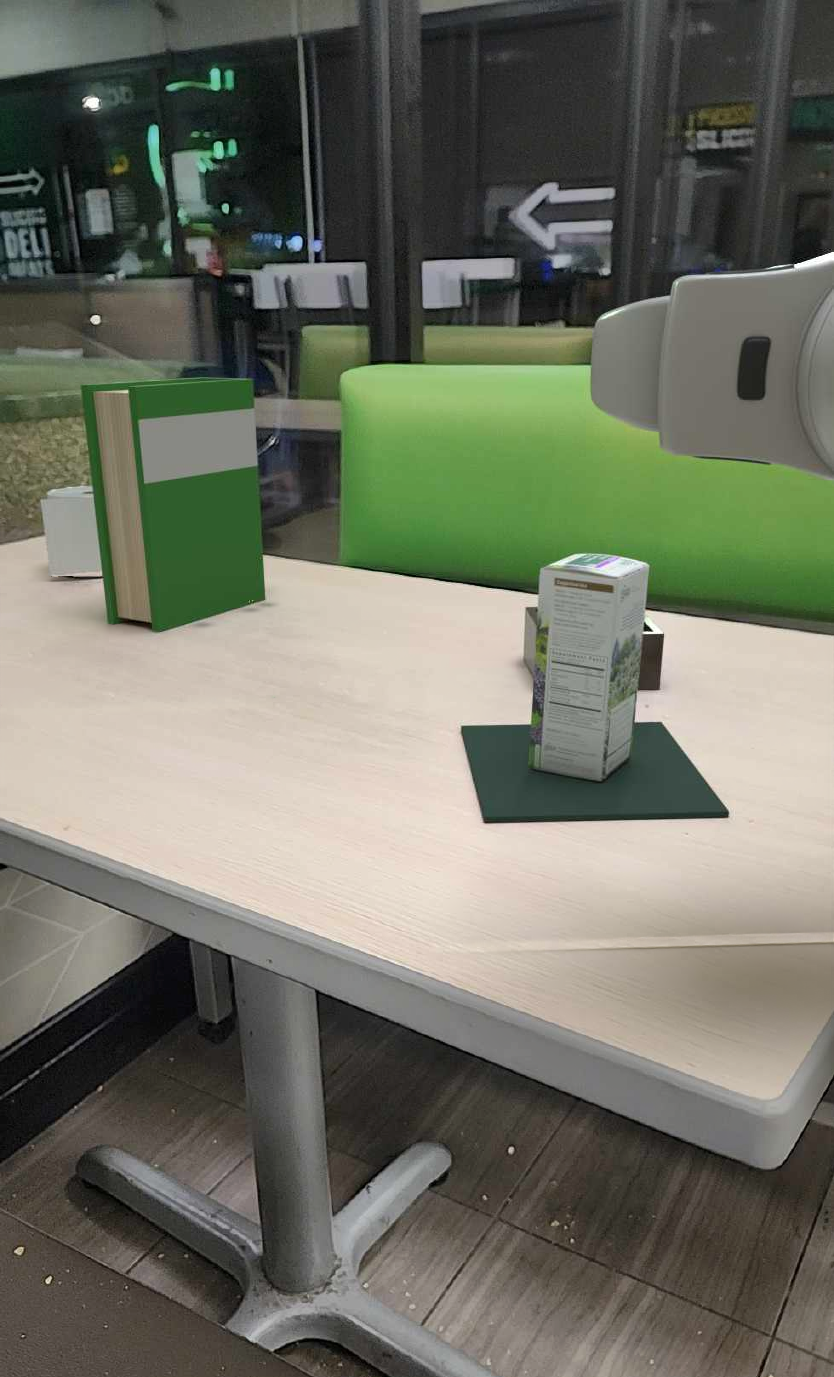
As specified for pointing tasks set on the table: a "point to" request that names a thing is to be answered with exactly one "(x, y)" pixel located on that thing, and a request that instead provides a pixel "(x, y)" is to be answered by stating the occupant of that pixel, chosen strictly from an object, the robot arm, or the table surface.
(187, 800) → the table surface
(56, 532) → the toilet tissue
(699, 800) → the mat
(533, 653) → the box
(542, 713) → the syrup box
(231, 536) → the hardback book
